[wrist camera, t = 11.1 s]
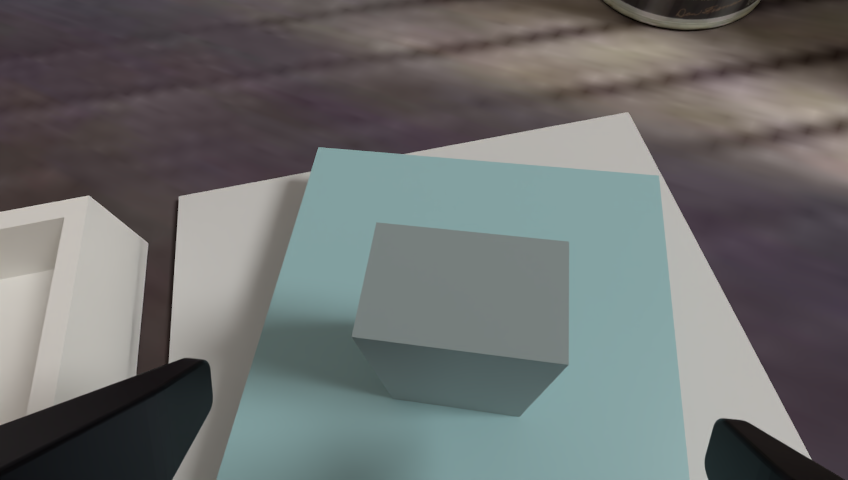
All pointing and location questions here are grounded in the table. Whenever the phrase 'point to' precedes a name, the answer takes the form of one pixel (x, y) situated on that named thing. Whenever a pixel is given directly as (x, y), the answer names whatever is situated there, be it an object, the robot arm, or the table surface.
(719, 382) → the grey mat
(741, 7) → the coffee can
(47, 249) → the parts tub
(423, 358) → the teal lid
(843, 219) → the table surface
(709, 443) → the robot arm
